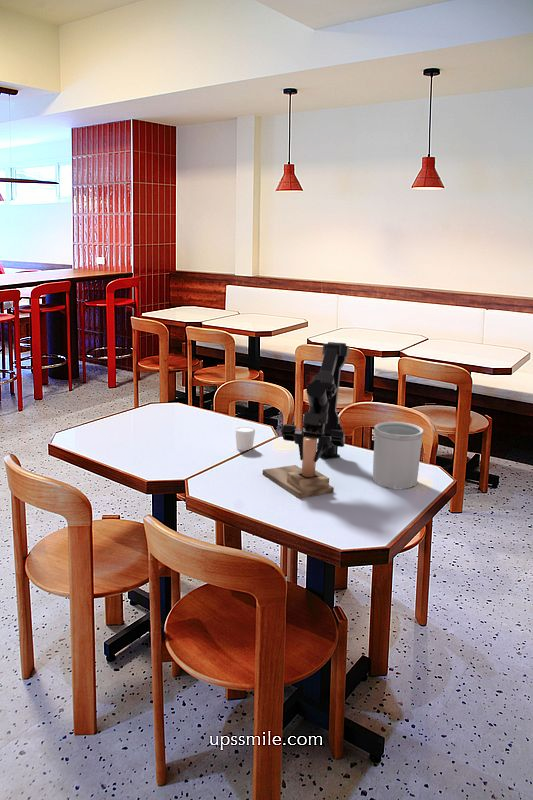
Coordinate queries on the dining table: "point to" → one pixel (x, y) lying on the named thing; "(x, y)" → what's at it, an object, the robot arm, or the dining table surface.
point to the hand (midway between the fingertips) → (308, 460)
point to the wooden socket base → (299, 481)
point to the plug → (309, 456)
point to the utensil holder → (396, 454)
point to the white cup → (244, 438)
